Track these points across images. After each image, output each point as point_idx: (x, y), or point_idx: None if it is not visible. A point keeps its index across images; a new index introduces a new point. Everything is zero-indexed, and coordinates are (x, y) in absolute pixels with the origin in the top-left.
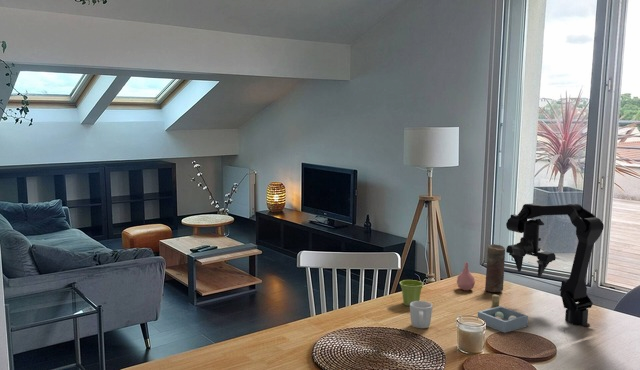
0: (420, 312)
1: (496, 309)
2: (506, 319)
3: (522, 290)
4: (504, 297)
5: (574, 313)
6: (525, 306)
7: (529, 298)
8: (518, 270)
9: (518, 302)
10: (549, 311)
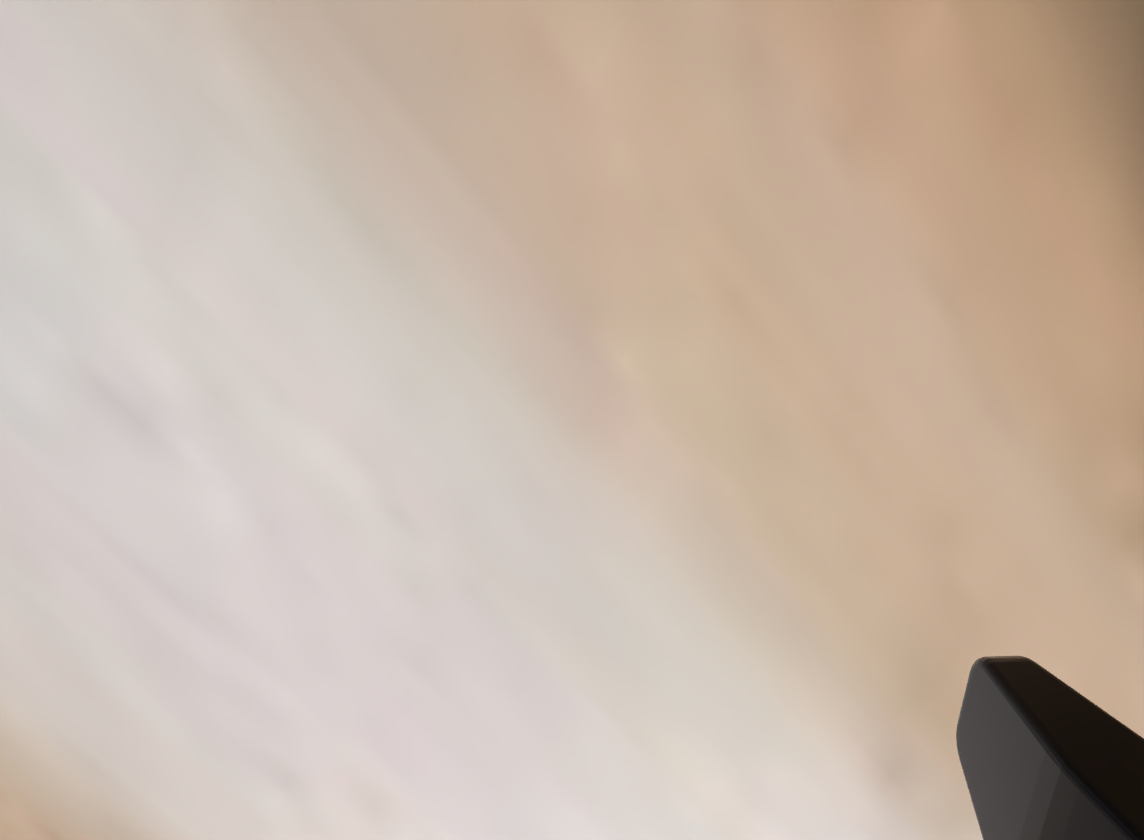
0: None
1: None
2: None
3: None
4: (1090, 268)
5: None
6: (510, 177)
7: (757, 581)
8: (1020, 680)
9: (742, 257)
10: (98, 330)
